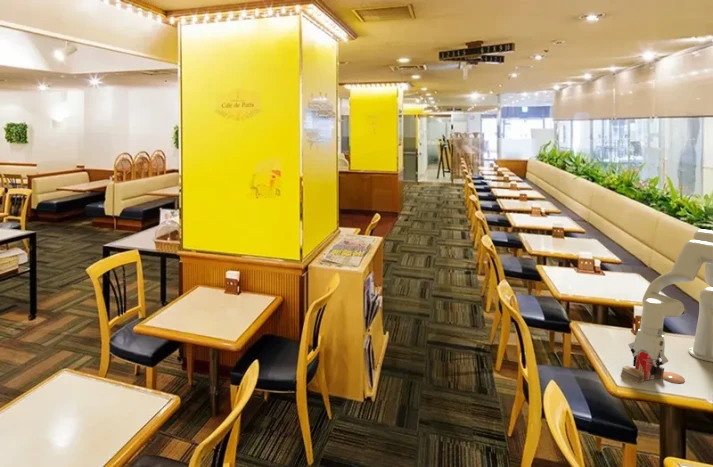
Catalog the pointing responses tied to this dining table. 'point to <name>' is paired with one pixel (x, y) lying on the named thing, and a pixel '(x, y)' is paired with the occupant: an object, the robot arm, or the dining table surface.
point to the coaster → (673, 377)
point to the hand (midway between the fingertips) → (645, 369)
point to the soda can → (644, 364)
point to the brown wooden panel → (660, 373)
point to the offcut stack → (632, 374)
